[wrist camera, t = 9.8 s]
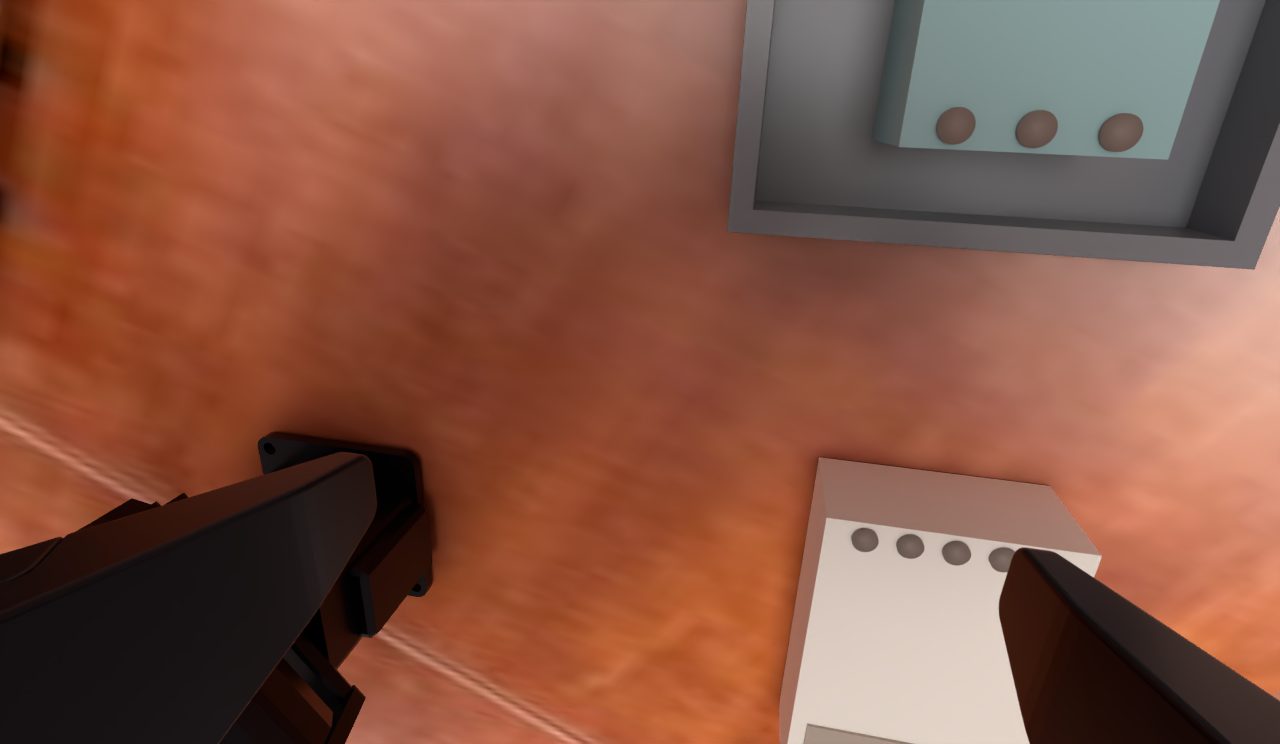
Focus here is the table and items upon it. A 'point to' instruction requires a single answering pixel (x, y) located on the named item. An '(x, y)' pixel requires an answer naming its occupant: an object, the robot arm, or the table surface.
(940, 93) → the stub
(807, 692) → the pad
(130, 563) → the robot arm
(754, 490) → the table surface
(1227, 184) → the tray
